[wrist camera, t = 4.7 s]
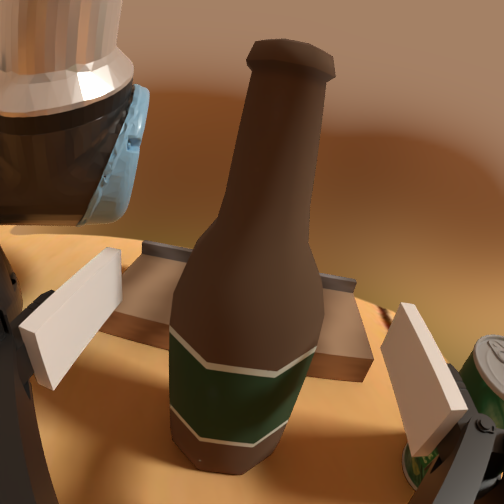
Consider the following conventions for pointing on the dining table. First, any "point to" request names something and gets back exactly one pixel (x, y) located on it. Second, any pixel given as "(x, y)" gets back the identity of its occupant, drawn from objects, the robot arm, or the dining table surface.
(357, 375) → the shelf
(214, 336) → the beer bottle
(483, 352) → the canned tomato
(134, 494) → the dining table surface
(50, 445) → the dining table surface
